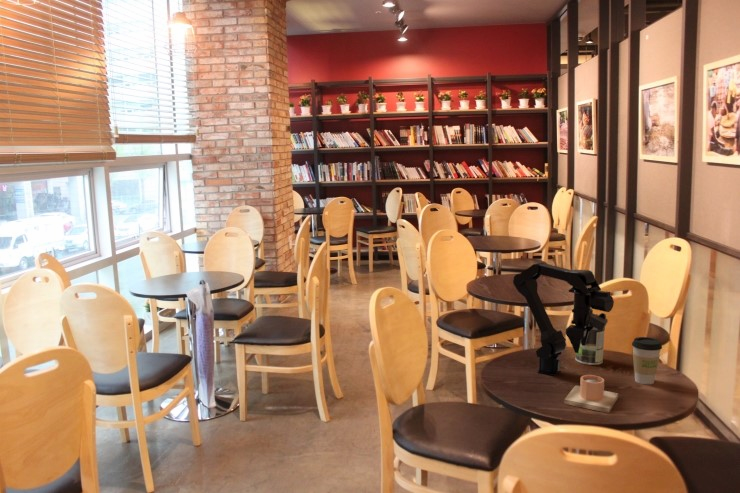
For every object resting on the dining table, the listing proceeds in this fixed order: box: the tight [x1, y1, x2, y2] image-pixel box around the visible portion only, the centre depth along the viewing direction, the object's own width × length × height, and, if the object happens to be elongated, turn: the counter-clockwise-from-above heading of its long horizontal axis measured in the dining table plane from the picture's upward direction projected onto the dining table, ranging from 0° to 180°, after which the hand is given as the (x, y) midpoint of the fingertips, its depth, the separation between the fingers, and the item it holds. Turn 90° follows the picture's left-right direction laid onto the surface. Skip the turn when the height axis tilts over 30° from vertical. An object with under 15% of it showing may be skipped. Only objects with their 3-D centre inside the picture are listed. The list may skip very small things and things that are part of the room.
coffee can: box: [574, 327, 606, 366], centre depth 249 cm, size 10×10×14 cm
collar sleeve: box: [579, 374, 605, 401], centre depth 211 cm, size 7×7×6 cm
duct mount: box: [563, 379, 619, 414], centre depth 212 cm, size 14×14×6 cm
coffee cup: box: [631, 336, 663, 385], centre depth 227 cm, size 10×10×15 cm
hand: (580, 349), depth 227 cm, fingers open, 9 cm apart
